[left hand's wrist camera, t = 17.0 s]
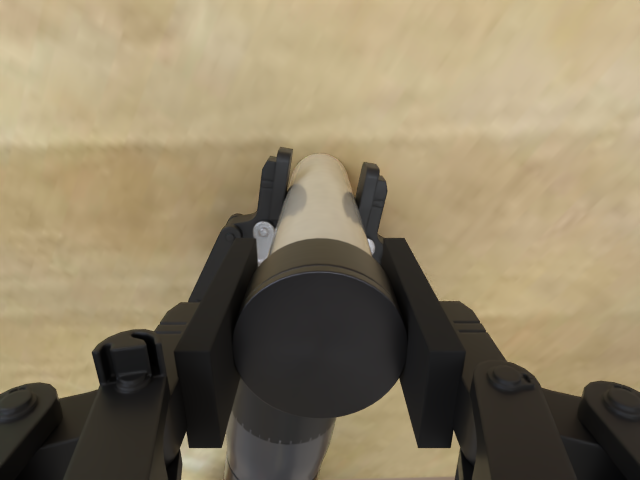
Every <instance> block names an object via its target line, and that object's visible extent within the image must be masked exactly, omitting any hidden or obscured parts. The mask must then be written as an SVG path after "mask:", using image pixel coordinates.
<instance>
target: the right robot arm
mask: <svg viewBox="0 0 640 480" xmlns="http://www.w3.org/2000/svg"><path fill="white" fill-rule="evenodd" d="M292 153H293V149H289V148H284V147H280V149H279V150H278V154H277V157H273V156H270V157H269V159H268V160H267V162H266V164H265V165H264V167H263V169H262V176H261V184H260V193H259V201H258V209H257V211H256V212H255V213H253V214H248V215H242V214H234V215H232V216H231V217H230V218H229V220H228V222H227V224H226V226H225V227H224V228H223V229H222V230H221V232H220V234H219V236H218V238H217V240H216V243H215V245H214V247H213V249H212V251H211V253H210V255H209V258H208V260H207V262H206V264H205V266H204V268H203V270H202V272H201V275H200V277H199V279H198V281H197V283H196V285H195V287H194V290H193V292H192V294H191V296H190V298H189V300H188V302H201V300H202V298H203V297H204V295H205V293H206V291H207V289H208V287H209V286H210V284H211V282H212V280H213V278H214V276H215V275H216V273H217V271H218V269H219V267H220V265H221V264H222V262H223V260H224V258H225V256H226V254H227V253H228V251H229V249H230V247H231V245H232V243H233V242H234V240H235V238H256V241H257V257H258V267H259V265H260V264H261V263H262V262H263V261H264V260H265V259H266V258H267V255H268V252H269V249H270V246H271V242H272V239H273V236H274V232H275V229H276V226H277V223H278V219H279V216H280V213H281V209H282V206H283V203H284V200H285V196H286V193H287V187H288V181H289V174H290V167H291V160H292ZM386 195H387V185H386V181H385V179H384V178H383V176H380V175H379V168H378V166H377V165H376V164H373V163H367V162H364V163H363V165H362V169H361V174H360V178H359V183H358V188H357V192H356V197H355V200H356V203H357V207H358V210H359V213H360V217H361V220H362V223H363V226H364V230H365V233H366V236H367V239H368V243H369V246H370V249H371V252H372V256H373V258H374V259H375V260H376V261H377V262H378V263H379V264H380V265H381V267H382V253H383V237H381V236H380V235H378V234H377V232H378V228H379V224H380V219H381V215H382V211H383V207H384V203H385V199H386ZM335 421H336V417H335V418H323V419H322V418H306V417H300V416H295V415H291V414H288V413H285V412H282V411H280V410H278V409H276V408H274V407H272V406H270V405H268V404H267V403H265V402H263V401H262V400H261V399H260V398H258V397H257V396H256V395H255V394H254V393H253V392H252V391H251V390H250V389H249V388H248V387H247V386H246V384H245V383H244V382H243V380H242V379H241V378H240V381H239V385H238V389H237V392H236V396H235V400H234V404H233V407H232V411H231V415H230V418H229V422H228V426H227V430H226V436H227V454H226V462H225V470H224V477H223V480H317V479H318V475H319V471H320V467H321V463H322V461H323V458H324V456H325V454H326V452H327V450H328V447H329V444H330V440H331V437H332V433H333V429H334V425H335Z"/></svg>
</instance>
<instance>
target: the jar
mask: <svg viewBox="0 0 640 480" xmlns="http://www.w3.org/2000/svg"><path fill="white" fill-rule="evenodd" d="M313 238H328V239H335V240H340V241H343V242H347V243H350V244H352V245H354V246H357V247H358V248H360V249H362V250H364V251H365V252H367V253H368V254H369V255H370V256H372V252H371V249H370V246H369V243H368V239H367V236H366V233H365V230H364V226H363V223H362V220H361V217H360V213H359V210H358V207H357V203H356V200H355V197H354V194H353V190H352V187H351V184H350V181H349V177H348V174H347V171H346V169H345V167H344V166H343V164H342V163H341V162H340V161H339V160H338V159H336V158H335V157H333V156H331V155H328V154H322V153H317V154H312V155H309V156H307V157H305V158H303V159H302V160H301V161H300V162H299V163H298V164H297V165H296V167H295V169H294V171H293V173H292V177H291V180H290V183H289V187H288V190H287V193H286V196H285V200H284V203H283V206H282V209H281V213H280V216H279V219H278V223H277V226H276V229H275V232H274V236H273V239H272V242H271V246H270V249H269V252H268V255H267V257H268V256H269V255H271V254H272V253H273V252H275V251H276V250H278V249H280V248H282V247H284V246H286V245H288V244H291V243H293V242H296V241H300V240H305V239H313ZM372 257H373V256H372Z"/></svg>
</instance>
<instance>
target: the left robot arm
mask: <svg viewBox="0 0 640 480" xmlns="http://www.w3.org/2000/svg"><path fill="white" fill-rule="evenodd" d="M257 268H258V257H257V241H256V238H235V240H234V242H233V243H232V245H231V247H230V249H229V251H228V253H227V254H226V256H225V258H224V260H223V262H222V264H221V265H220V267H219V269H218V271H217V273H216V275H215V276H214V278H213V280H212V282H211V284H210V286H209V287H208V289H207V291H206V293H205V295H204V297H203V298H202V300H201V302H181V303H179V304H178V305H176V306H175V307H173V308H172V309H171V310H169V311H168V312H167V313H166V315H165V316H164V318H163V319H162V321H161V322H160V325H158V327H157V328H156V330H155V331H150V330H146V329H135V330H129V331H124V332H120V333H118V334H115V335H113V336H111V337H108V338H107V339H105V340H104V341H102V342H101V343H99V344H98V345H97V346H96V348H95V349H94V350H93V351H92V355H93V359H94V363H95V367H96V371H97V375H98V379H99V383H100V386H99V389H98V390H95V391H91V392H88V393H83V394H79V395H74V396H70V397H65V398H61V399H59V398H58V395H57V391H56V389H55V388H54V387H53V386H51V385H50V384H45V383H31V384H25V385H22V386H19V387H15V388H12V389H10V390H8V391H6V392H4V393H2V394H0V480H181V473H182V458H181V452H180V446H181V444H182V441H183V438H184V436H185V433H186V431H187V437H188V444H189V448H222V444H223V441H224V437H225V433H226V430H227V426H228V422H229V418H230V415H231V411H232V407H233V404H234V400H235V396H236V392H237V389H238V385H239V381H240V378H241V377H240V375H239V373H238V371H237V369H236V366H235V364H234V359H233V349H232V333H233V329H234V325H235V322H236V319H237V316H238V313H239V310H240V308H241V305H242V302H243V299H244V296H245V294H246V291H247V288H248V285H249V283H250V280H251V278H252V276H253V274H254V273H255V271H256V269H257ZM382 268H383V269H384V271H385V272H386V274H387V276H388V278H389V280H390V283H391V286H392V288H393V291H394V294H395V297H396V300H397V303H398V305H399V308H400V311H401V314H402V317H403V319H404V322H405V325H406V328H407V333H408V347H407V357H406V363H405V367H404V369H403V371H402V373H401V375H400V377H399V379H400V382H401V386H402V390H403V393H404V397H405V401H406V405H407V408H408V412H409V416H410V419H411V423H412V427H413V431H414V434H415V438H416V442H417V445H418V448H451V442H452V436H453V430H454V432H455V435H456V437H457V440H458V442H459V445H460V452H459V458H458V464H457V469H456V475H455V480H640V392H638V391H636V390H634V389H632V388H630V387H627V386H625V385H621V384H618V383H615V382H607V381H597V382H590V383H589V384H588V385H587V386H586V387H584V390H583V394H582V397H578V396H573V395H569V394H564V393H560V392H555V391H551V390H547V389H544V388H541V386H540V384H539V382H538V381H537V379H536V378H535V376H533V375H532V374H531V373H530V372H528V371H527V370H526V369H524V368H522V367H520V366H518V365H516V364H514V363H511V362H507V361H506V359H505V358H504V357H503V355H502V354H501V352H500V351H499V349H498V348H497V346H496V345H495V343H494V342H493V340H492V339H491V337H490V336H489V334H488V333H486V330H485V328H484V327H483V325H482V324H481V323H480V321H479V319H478V318H477V316H476V315H475V313H474V312H473V310H471V309H470V308H468V307H467V306H465V305H464V304H463V303H461V302H460V301H438V299H437V297H436V295H435V293H434V292H433V290H432V288H431V286H430V284H429V282H428V281H427V279H426V277H425V275H424V273H423V271H422V270H421V268H420V266H419V264H418V262H417V260H416V259H415V257H414V255H413V253H412V251H411V249H410V248H409V246H408V244H407V242H406V240H405V238H383V253H382Z"/></svg>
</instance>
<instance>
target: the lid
mask: <svg viewBox="0 0 640 480" xmlns="http://www.w3.org/2000/svg"><path fill="white" fill-rule="evenodd" d="M407 347H408V333H407V328H406V325H405V322H404V319H403V317H402V314H401V311H400V308H399V305H398V303H397V300H396V297H395V294H394V291H393V288H392V286H391V283H390V280H389V278H388V276H387V274H386V272H385V271H384V269H383V268H382V267H381V265H380V264H379V263H378V262H377V261H376V260H375V259H374V258H373V257H372V256H370V255H369V254H368V253H367V252H365V251H364V250H362V249H360V248H358V247H357V246H354V245H352V244H350V243H347V242H343V241H340V240H335V239H328V238H313V239H305V240H300V241H296V242H293V243H291V244H288V245H286V246H284V247H282V248H280V249H278V250H276V251H275V252H273V253H272V254H271V255H269V256H268V257H267V258H266V259H265V260H264V261H263V262H262V263H261V264H260V265H259V267H258V268H257V269H256V271H255V273H254V274H253V276H252V278H251V280H250V283H249V285H248V288H247V291H246V294H245V296H244V299H243V302H242V305H241V308H240V310H239V313H238V316H237V319H236V322H235V325H234V329H233V333H232V349H233V359H234V364H235V366H236V369H237V371H238V373H239V375H240V377H241V379H242V380H243V382H244V383H245V384H246V386H247V387H248V388H249V389H250V390H251V391H252V392H253V393H254V394H255V395H256V396H257V397H258V398H260V399H261V400H262V401H263V402H265V403H267V404H268V405H270V406H272V407H274V408H276V409H278V410H280V411H282V412H285V413H288V414H291V415H295V416H300V417H306V418H322V419H323V418H335V417H340V416H345V415H348V414H352V413H355V412H357V411H360V410H362V409H365V408H366V407H368V406H370V405H372V404H374V403H375V402H376V401H378V400H379V399H381V398H382V397H383V396H384V395H385V394H386V393H387V392H388V391H389V390H390V389H391V388H392V387H393V386H394V385H395V383H396V382H397V380H398V379H399V377H400V375H401V373H402V371H403V369H404V367H405V363H406V357H407Z"/></svg>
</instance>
